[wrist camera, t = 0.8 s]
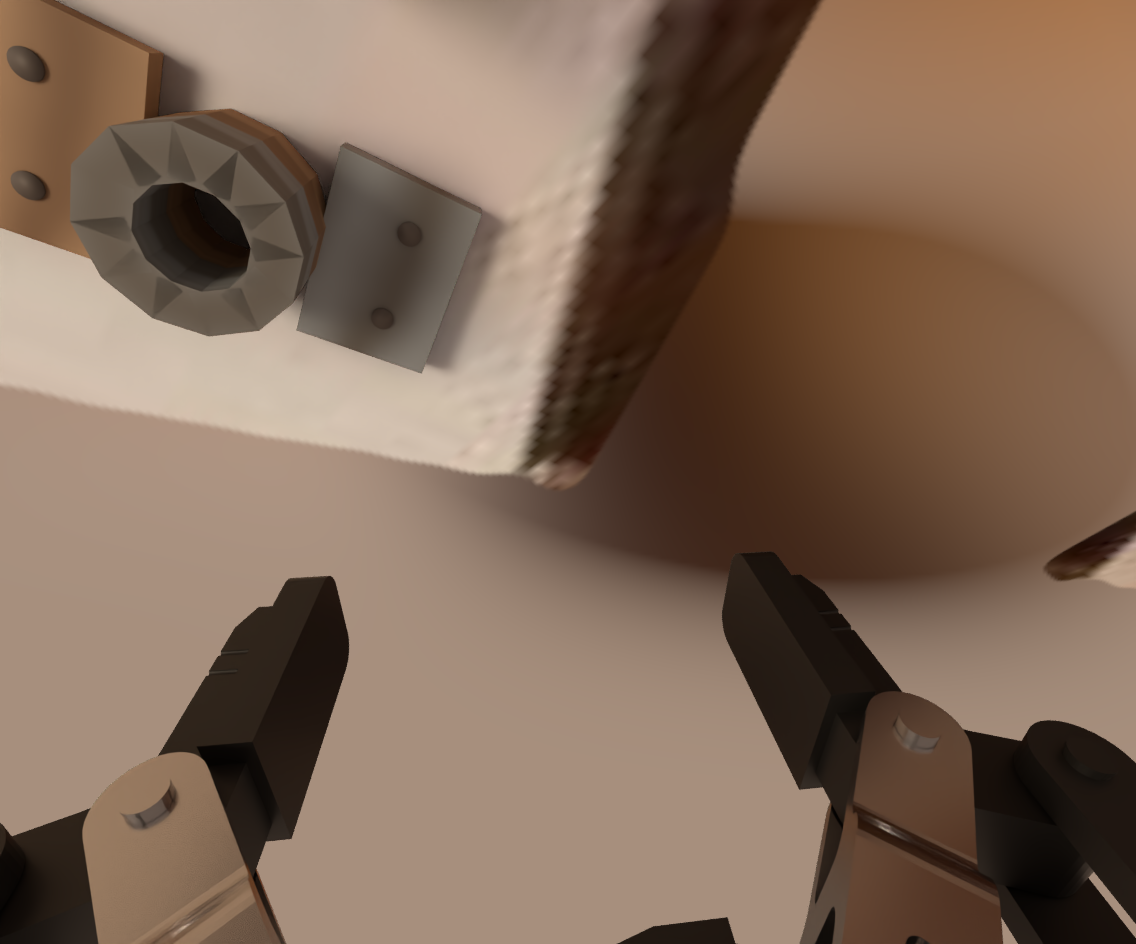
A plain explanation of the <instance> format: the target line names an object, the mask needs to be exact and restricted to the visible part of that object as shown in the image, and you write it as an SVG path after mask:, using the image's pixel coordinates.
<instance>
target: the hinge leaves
mask: <svg viewBox="0 0 1136 944" xmlns="http://www.w3.org/2000/svg"><path fill="white" fill-rule="evenodd" d="M162 64H163V53H161V52H159V51H157V50H155V49H153V48H151V47H149V46H147V45H145V44H143V43H141V42H139V41H137V40H135V39H133V38H131V37H129V36H127V35H125V34H122V33H120V32H118V31H116V30H114V29H112V28H110V27H108V26H106V25H104V24H102V23H100V22H98V21H96V20H94V19H92V18H90V17H88V16H86V15H84V14H82V13H79V12H77V11H75V10H73V9H71V8H69V7H67V6H65V5H63V4H61V3H59V2H57V1H55V0H0V228H3V229H6V230H9V231H12V232H15V233H18V234H21V235H23V236H26V237H29V238H32V239H35V240H38V241H41V242H44V243H47V244H49V245H52V246H55V247H58V248H61V249H64V250H67V251H70V252H72V253H75V254H78V255H81V256H84V257H87V258H90V259H91V260H92V262H93V263H94V265H95V267H96V269H97V270H98V272H99V274H100V276H101V277H102V278H103V279H104V280H105V281H107V282H108V283H109V284H110V285H112V286H113V287H114V288H115V289H117V290H118V291H119V292H120V293H122V294H123V295H124V296H125V297H127V298H128V299H129V300H130V301H132V302H133V303H134V304H135V305H137V306H138V307H139V308H140V309H142V310H143V311H144V312H145V313H147V314H148V315H149V316H150V317H152V318H154V319H157V320H160V321H163V322H166V323H169V324H172V325H175V326H178V327H182V328H185V329H188V330H191V331H194V332H197V333H200V334H203V335H206V336H217V335H226V334H234V333H243V332H252V331H259V330H260V329H262V328H263V327H264V326H265V325H267V324H268V323H269V322H270V321H271V320H273V319H274V318H275V317H276V316H278V315H279V314H280V313H281V312H282V311H284V310H285V309H286V308H287V307H289V306H290V305H291V304H292V303H293V302H294V301H295V299H296V298H297V296H298V294H299V293H300V291H301V290H302V288H303V287H304V285H305V284H306V282H307V280H308V279H309V280H308V285H307V289H306V293H305V297H304V301H303V305H302V309H301V314H300V318H299V322H298V326H297V331H300V332H303V333H306V334H309V335H312V336H315V337H318V338H320V339H323V340H326V341H329V342H332V343H335V344H338V345H341V346H343V347H346V348H349V349H352V350H355V351H358V352H361V353H364V354H367V355H369V356H372V357H375V358H378V359H381V360H384V361H387V362H390V363H392V364H395V365H398V366H401V367H404V368H407V369H410V370H413V371H416V372H418V373H421V374H422V372H423V369H424V366H425V364H426V361H427V358H428V356H429V353H430V350H431V348H432V345H433V343H434V340H435V337H436V335H437V332H438V329H439V327H440V324H441V321H442V319H443V316H444V313H445V311H446V308H447V306H448V303H449V300H450V298H451V295H452V292H453V290H454V287H455V284H456V282H457V279H458V277H459V274H460V271H461V269H462V266H463V263H464V261H465V258H466V255H467V253H468V250H469V247H470V245H471V242H472V240H473V237H474V234H475V232H476V229H477V226H478V224H479V221H480V218H481V216H482V212H481V209H480V208H478V207H476V206H474V205H472V204H470V203H468V202H466V201H464V200H462V199H460V198H458V197H456V196H454V195H452V194H450V193H448V192H446V191H444V190H442V189H440V188H438V187H435V186H433V185H431V184H429V183H427V182H425V181H423V180H421V179H419V178H417V177H415V176H413V175H411V174H409V173H407V172H405V171H403V170H401V169H399V168H397V167H395V166H393V165H390V164H388V163H386V162H384V161H382V160H380V159H378V158H376V157H374V156H372V155H370V154H368V153H366V152H364V151H362V150H360V149H358V148H356V147H354V146H352V145H350V144H348V143H344V144H343V145H342V146H341V148H340V152H339V156H338V160H337V164H336V168H335V172H334V177H333V181H332V185H331V189H330V193H329V197H328V202H327V206H326V202H325V199H324V196H323V192H322V189H321V185H320V182H319V178H318V175H317V173H316V172H315V171H314V170H313V169H312V168H311V166H310V165H309V164H308V163H307V162H306V161H305V160H304V158H303V157H302V156H301V155H300V154H299V153H298V151H297V150H296V149H295V148H294V147H293V146H292V144H291V143H290V142H289V141H288V140H287V139H286V138H285V136H284V135H283V134H282V133H281V132H279V131H277V130H275V129H273V128H270V127H268V126H266V125H264V124H262V123H260V122H258V121H256V120H254V119H251V118H249V117H247V116H245V115H243V114H241V113H239V112H237V111H235V110H232V109H220V110H206V111H192V112H180V113H175V114H170V115H164V116H159V117H158V110H159V99H160V87H161V76H162ZM195 188H197V189H200V190H202V191H204V192H207V193H209V194H212V195H214V196H216V197H217V198H218V199H219V200H220V201H221V202H222V203H223V204H224V205H225V206H226V207H227V208H228V209H229V210H230V211H231V212H232V213H233V214H234V215H235V216H236V217H237V218H238V219H239V220H240V222H241V225H242V228H243V230H244V233H245V235H246V238H247V240H248V243H249V246H250V249H247V248H244V247H242V246H239V245H236V244H234V243H231V242H229V241H226V240H224V239H223V238H222V237H221V236H220V235H219V234H217V233H216V232H215V231H214V230H213V229H212V228H211V227H210V226H209V225H208V224H207V223H206V222H205V221H204V219H203V217H202V214H201V212H200V210H199V207H198V205H197V202H196V200H195V198H194V195H195Z"/></svg>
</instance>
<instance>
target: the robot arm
mask: <svg viewBox="0 0 1136 944" xmlns="http://www.w3.org/2000/svg"><path fill="white" fill-rule="evenodd" d="M722 622H723V628H724V633H725V637H726V639H727V642H728V644H729V646H730V648H731V650H732V652H733V654H734V656H735V658H736V660H737V662H738V664H739V666H740V669H741V671H742V673H743V675H744V677H745V679H746V681H747V683H748V685H749V687H750V689H751V691H752V693H753V695H754V697H755V699H756V702H757V704H758V706H759V708H760V710H761V712H762V714H763V716H764V718H765V720H766V722H767V724H768V726H769V728H770V730H771V732H772V734H773V736H774V738H775V741H776V743H777V745H778V747H779V749H780V751H781V752H782V755H783V757H784V759H785V761H786V763H787V765H788V767H789V769H790V771H791V773H792V776H793V778H794V780H795V781H796V784H797V786H798V788H799V789H810V788H820V787H823V788H824V790H825V792H826V794H827V796H828V798H829V800H830V804H829V807H828V810H827V813H826V819H825V824H824V829H823V835H822V840H821V845H820V851H819V856H818V861H817V867H816V873H815V877H814V883H813V888H812V893H811V899H810V905H809V909H808V915H807V919H806V923H805V927H804V930H803V934H802V937H801V941H800V944H1003V935H1002V922H1001V917H1002V919H1003V920H1004V922H1005V924H1006V925H1007V927H1008V928H1009V930H1010V932H1011V933H1012V935H1013V936H1014V938H1015V940H1016V941H1017V943H1018V944H1136V938H1135V937H1134V935H1133V934H1132V933H1131V932H1130V930H1129V929H1128V928H1127V927H1126V925H1125V924H1124V923H1123V921H1122V920H1121V919H1120V918H1119V917H1118V915H1117V914H1116V912H1115V911H1114V910H1113V909H1112V907H1111V906H1110V905H1109V904H1108V902H1107V901H1106V900H1105V898H1104V897H1103V896H1102V895H1101V894H1100V892H1099V891H1098V890H1097V888H1096V887H1095V886H1094V885H1093V883H1092V882H1091V881H1090V880H1089V878H1088V877H1089V876H1090V875H1091V874H1092V873H1093V872H1095V874H1096V875H1097V876H1098V877H1099V879H1100V880H1101V881H1102V882H1103V884H1104V885H1105V886H1106V887H1107V889H1108V890H1109V891H1110V892H1111V894H1112V895H1113V896H1114V897H1115V899H1116V900H1117V901H1118V902H1119V904H1120V905H1121V906H1122V907H1123V908H1124V910H1125V911H1126V912H1127V913H1128V915H1129V916H1130V917H1131V919H1132V920H1133V921H1134V922H1135V923H1136V763H1135V762H1134V761H1133V760H1132V759H1131V758H1130V757H1129V756H1127V755H1126V754H1125V753H1124V752H1123V751H1121V750H1120V749H1119V748H1117V747H1116V746H1115V745H1113V744H1112V743H1110V742H1109V741H1107V740H1106V739H1104V738H1102V737H1100V736H1098V735H1097V734H1095V733H1092V732H1090V731H1088V730H1086V729H1084V728H1081V727H1079V726H1075V725H1073V724H1069V723H1065V722H1060V721H1050V720H1047V721H1040V722H1037V723H1035V724H1033V725H1032V726H1031V727H1030V728H1029V730H1028V731H1027V733H1026V735H1025V736H1024V738H1023V740H1022V741H1017V740H1013V739H1008V738H1002V737H997V736H993V735H988V734H982V733H977V732H972V731H968V730H964V729H962V727H961V726H960V725H959V724H958V722H956V720H955V719H953V718H952V717H951V716H950V715H949V714H948V713H947V712H945V711H944V710H943V709H941V708H940V707H938V706H937V705H935V704H934V703H932V702H930V701H928V700H926V699H924V698H921V697H919V696H916V695H913V694H910V693H905V692H902V691H901V690H900V688H899V687H898V686H897V684H896V683H895V682H894V681H893V679H892V678H891V677H890V675H889V674H888V673H887V672H886V670H885V669H884V668H883V667H882V665H881V664H880V663H879V662H878V660H877V659H876V658H875V656H874V655H873V654H872V652H871V651H870V650H869V649H868V647H867V646H866V645H865V643H864V642H863V641H862V640H861V638H860V637H859V636H858V634H857V633H856V632H855V631H854V630H851V625H850V624H849V623H848V622H847V620H846V619H845V618H844V617H843V615H842V614H839V613H838V609H837V608H836V606H835V605H834V604H833V602H832V601H831V600H830V599H829V598H828V596H827V595H826V594H825V592H824V591H823V590H822V589H820V588H819V587H818V586H816V585H815V584H813V583H812V582H810V581H809V580H808V579H806V578H805V577H803V576H802V575H791V574H790V572H789V571H788V570H787V568H786V567H785V566H784V564H783V563H782V561H781V560H780V559H779V557H778V556H777V555H776V554H775V553H774V552H755V553H737V554H735V555H734V557H733V558H732V561H731V566H730V571H729V577H728V583H727V588H726V593H725V599H724V604H723V610H722ZM348 655H349V638H348V632H347V628H346V624H345V620H344V615H343V611H342V607H341V603H340V599H339V595H338V591H337V587H336V583H335V581H334V579H333V577H331V576H320V577H304V578H290V579H288V580H287V581H286V582H285V584H284V586H283V588H282V590H281V591H280V593H279V595H278V597H277V599H276V601H275V602H274V605H273V606H270V607H259V608H257V609H256V610H255V611H254V612H253V613H251V614H250V615H249V616H248V617H247V618H246V619H245V620H243V621H242V622H241V623H240V624H239V625H238V626H237V627H235V629H234V630H233V632H232V634H231V635H230V637H229V639H228V640H227V642H226V644H225V645H224V647H223V649H222V650H221V656H218V657H217V659H216V660H215V662H214V664H213V665H212V667H211V669H210V670H209V676H206V677H205V679H204V680H203V682H202V684H201V685H200V687H199V689H198V690H197V692H196V694H195V696H194V697H193V699H192V700H191V702H190V704H189V705H188V707H187V709H186V710H185V712H184V714H183V716H182V717H181V719H180V720H179V722H178V724H177V725H176V727H175V729H174V730H173V732H172V734H171V735H170V737H169V739H168V740H167V742H166V744H165V745H164V747H163V749H162V750H161V752H160V753H159V755H158V756H157V757H154V758H151V759H149V760H147V761H145V762H143V763H141V764H139V765H137V766H135V767H133V768H132V769H130V770H128V771H127V772H126V773H124V774H123V775H121V776H120V777H119V778H118V779H116V780H115V781H114V782H113V783H112V784H110V785H109V786H108V787H107V788H106V789H105V791H104V792H103V793H102V794H101V795H100V796H99V797H98V799H97V800H96V801H95V802H94V804H93V805H92V807H91V808H90V809H87V810H85V811H82V812H80V813H77V814H74V815H71V816H68V817H65V818H63V819H60V820H57V821H54V822H51V823H48V824H46V825H43V826H40V827H37V828H34V829H32V830H29V831H26V832H23V833H20V834H17V835H15V836H11V835H10V834H9V832H8V831H7V830H6V829H5V827H4V826H3V825H2V824H1V823H0V944H286V942H285V939H284V937H283V934H282V932H281V929H280V927H279V924H278V922H277V919H276V917H275V914H274V912H273V909H272V906H271V904H270V901H269V899H268V897H267V894H266V891H265V889H264V886H263V884H262V881H261V879H260V876H259V873H258V871H257V869H256V868H257V865H258V862H259V859H260V856H261V854H262V851H263V848H264V845H265V842H266V841H275V840H285V839H291V838H292V835H293V832H294V829H295V826H296V823H297V820H298V817H299V814H300V811H301V807H302V804H303V801H304V798H305V795H306V791H307V789H308V786H309V782H310V779H311V776H312V773H313V770H314V767H315V764H316V761H317V758H318V754H319V751H320V748H321V745H322V742H323V739H324V736H325V733H326V730H327V727H328V723H329V720H330V717H331V714H332V711H333V707H334V705H335V702H336V699H337V695H338V692H339V689H340V686H341V683H342V680H343V677H344V674H345V671H346V667H347V662H348ZM618 944H736V943H735V941H734V938H733V934H732V931H731V927H730V924H729V921H728V918H727V917H726V918H719V919H710V920H702V921H694V922H686V923H678V924H669V925H661V926H653V927H651V928H649V929H647V930H645V931H643V932H641V933H639V934H637V935H635V936H632V937H630V938H628V939H626V940H624V941H622V942H620V943H618Z"/></svg>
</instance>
